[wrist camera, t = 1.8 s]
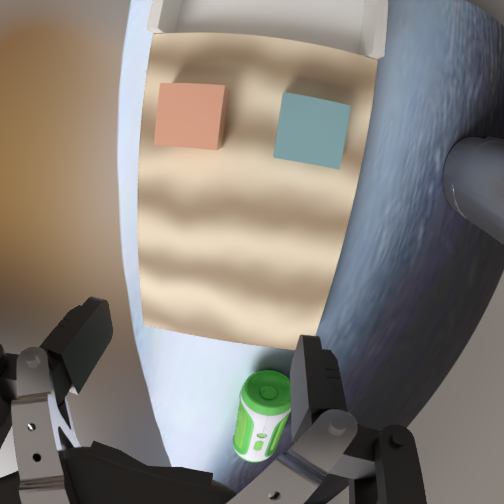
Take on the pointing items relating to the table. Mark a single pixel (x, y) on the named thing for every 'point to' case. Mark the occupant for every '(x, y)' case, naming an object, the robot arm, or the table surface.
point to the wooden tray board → (246, 192)
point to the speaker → (262, 415)
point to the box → (281, 21)
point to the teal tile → (311, 130)
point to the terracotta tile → (191, 115)
